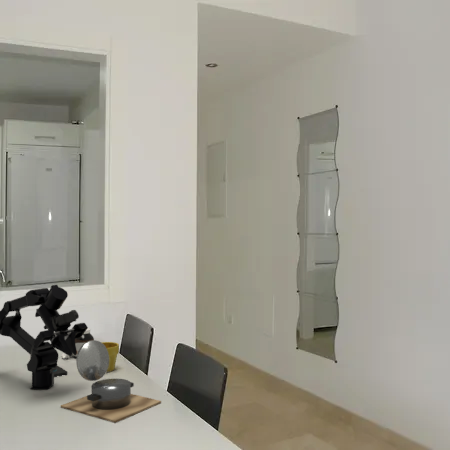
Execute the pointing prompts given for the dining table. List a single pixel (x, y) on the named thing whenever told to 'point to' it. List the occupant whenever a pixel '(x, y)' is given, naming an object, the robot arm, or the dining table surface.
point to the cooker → (111, 394)
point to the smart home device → (59, 371)
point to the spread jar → (80, 342)
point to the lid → (92, 360)
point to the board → (114, 415)
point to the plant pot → (111, 354)
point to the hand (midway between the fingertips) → (73, 354)
